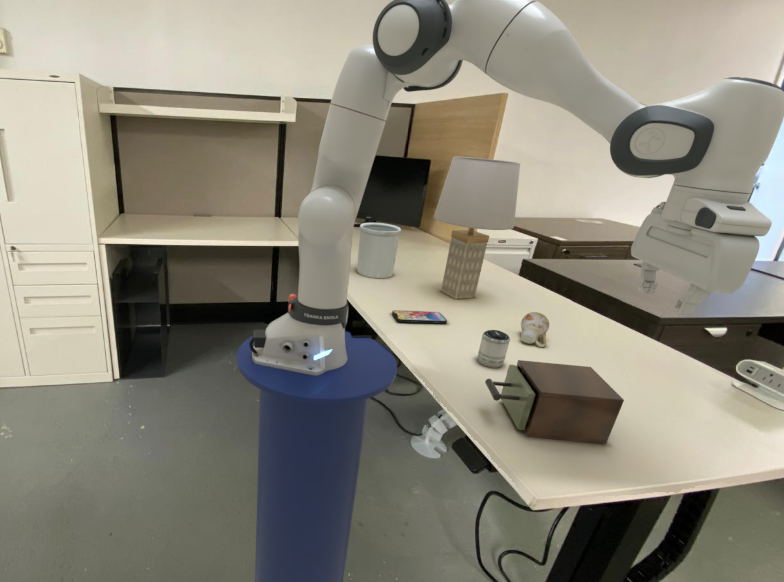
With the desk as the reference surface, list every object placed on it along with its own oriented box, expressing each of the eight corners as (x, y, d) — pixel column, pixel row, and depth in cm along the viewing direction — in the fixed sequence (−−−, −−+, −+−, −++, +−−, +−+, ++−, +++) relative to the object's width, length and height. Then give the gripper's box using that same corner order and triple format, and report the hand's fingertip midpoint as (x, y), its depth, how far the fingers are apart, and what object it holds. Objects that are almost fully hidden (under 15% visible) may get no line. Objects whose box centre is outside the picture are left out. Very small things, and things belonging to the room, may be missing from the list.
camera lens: (495, 356, 117) (503, 328, 114) (507, 368, 111) (516, 338, 108) (472, 356, 116) (479, 327, 113) (483, 368, 111) (490, 338, 107)
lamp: (407, 284, 166) (428, 154, 148) (463, 281, 176) (489, 158, 158) (450, 310, 146) (481, 162, 127) (511, 304, 155) (548, 166, 137)
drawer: (491, 427, 87) (501, 391, 83) (476, 395, 97) (484, 362, 94) (590, 436, 86) (604, 401, 83) (565, 403, 97) (576, 370, 93)
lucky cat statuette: (512, 343, 126) (517, 307, 127) (521, 349, 134) (526, 315, 135) (541, 345, 122) (546, 308, 123) (549, 351, 129) (554, 316, 130)
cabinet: (526, 436, 86) (541, 392, 82) (506, 400, 98) (517, 359, 94) (606, 444, 86) (624, 400, 82) (576, 407, 98) (590, 366, 93)
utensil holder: (387, 281, 168) (394, 233, 161) (349, 273, 174) (354, 226, 166) (399, 272, 180) (406, 226, 173) (363, 265, 186) (368, 220, 178)
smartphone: (448, 321, 134) (398, 319, 132) (447, 324, 135) (397, 322, 132) (439, 311, 141) (391, 310, 139) (438, 314, 141) (391, 313, 139)
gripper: (638, 197, 75) (608, 279, 81) (731, 221, 57) (684, 325, 62) (677, 201, 75) (645, 283, 81) (784, 225, 57) (732, 329, 62)
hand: (663, 302), depth 72 cm, fingers open, 8 cm apart
